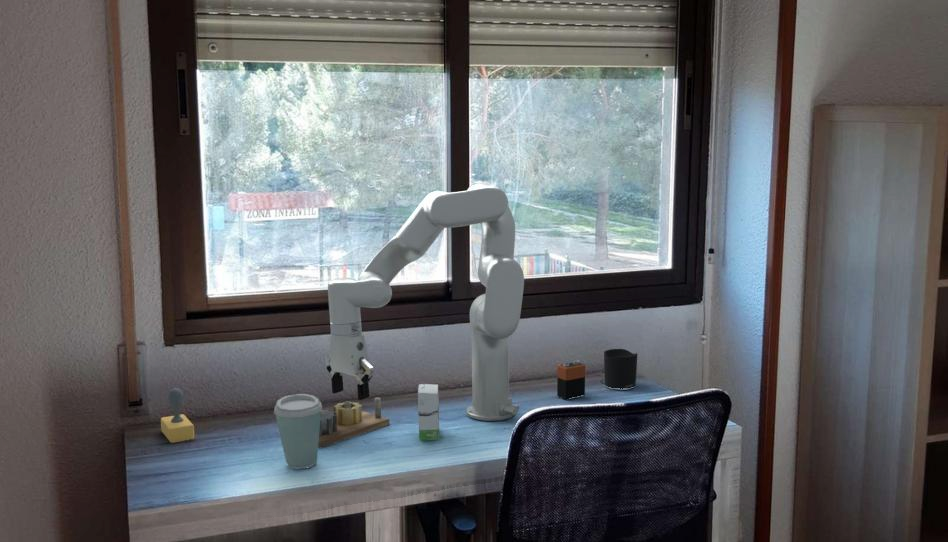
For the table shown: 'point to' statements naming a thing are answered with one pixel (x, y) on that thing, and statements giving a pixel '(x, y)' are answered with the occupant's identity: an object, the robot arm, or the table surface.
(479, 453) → the table surface
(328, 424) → the gear board
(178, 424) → the rubber stamp
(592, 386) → the table surface
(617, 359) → the pen holder
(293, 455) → the disposable coffee cup
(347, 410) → the brass gear
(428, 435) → the ink box
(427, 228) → the robot arm
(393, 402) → the table surface
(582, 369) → the battery
